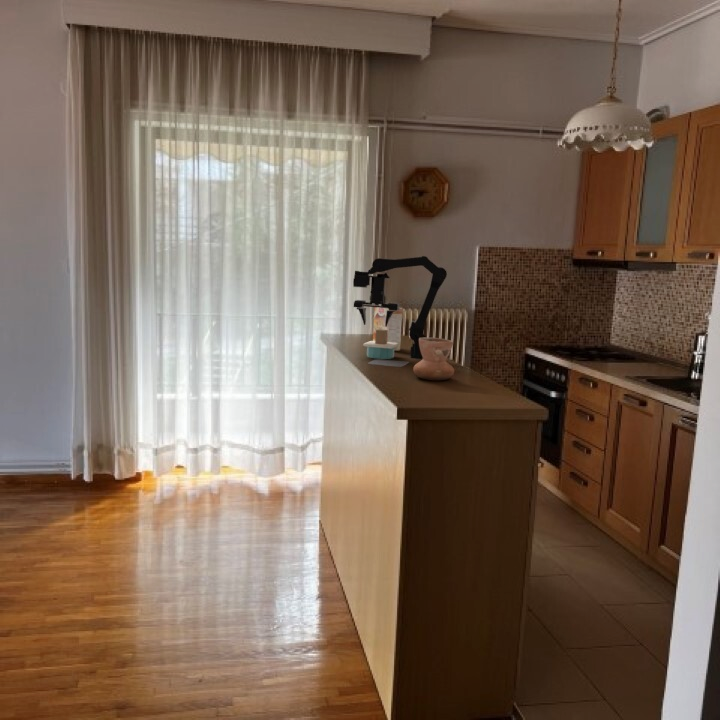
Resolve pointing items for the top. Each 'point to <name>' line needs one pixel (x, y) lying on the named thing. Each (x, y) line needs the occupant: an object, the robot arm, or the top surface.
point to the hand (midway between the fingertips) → (375, 325)
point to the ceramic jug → (434, 359)
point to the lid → (381, 340)
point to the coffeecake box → (392, 326)
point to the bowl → (380, 353)
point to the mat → (388, 362)
